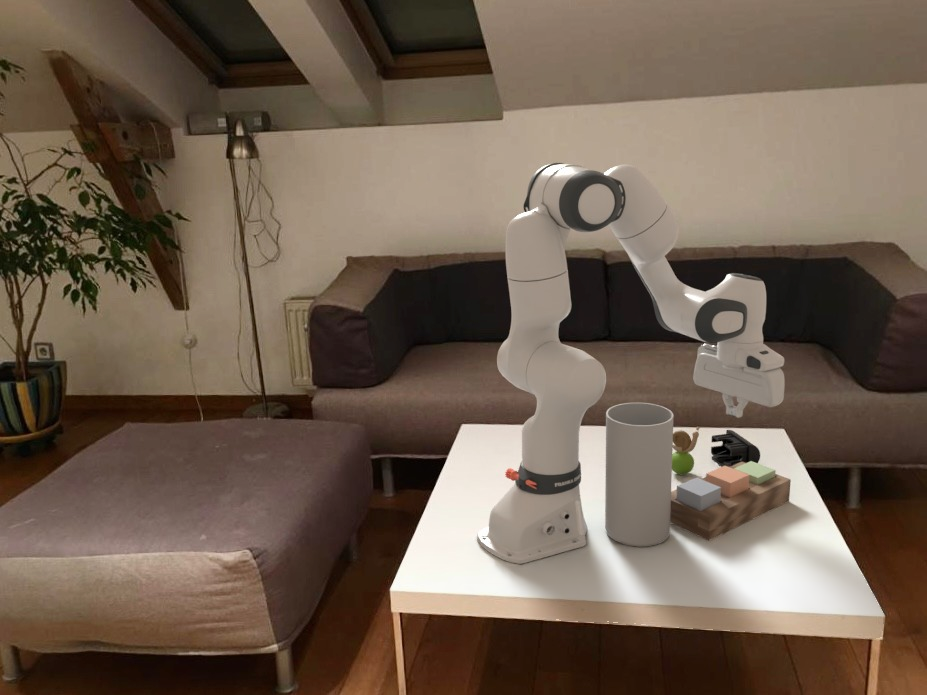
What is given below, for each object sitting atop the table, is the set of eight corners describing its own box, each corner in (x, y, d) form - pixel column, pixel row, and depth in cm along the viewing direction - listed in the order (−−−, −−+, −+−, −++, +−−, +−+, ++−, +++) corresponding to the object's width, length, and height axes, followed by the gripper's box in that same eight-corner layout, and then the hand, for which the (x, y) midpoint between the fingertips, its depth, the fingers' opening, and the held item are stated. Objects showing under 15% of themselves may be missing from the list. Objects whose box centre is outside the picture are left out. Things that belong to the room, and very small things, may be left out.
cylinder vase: (624, 511, 173) (625, 398, 166) (680, 528, 165) (684, 410, 158) (593, 536, 163) (593, 417, 156) (651, 555, 156) (654, 430, 149)
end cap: (759, 471, 189) (761, 443, 187) (731, 475, 188) (732, 447, 186) (736, 454, 198) (738, 428, 197) (709, 458, 197) (710, 431, 195)
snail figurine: (692, 481, 185) (694, 431, 182) (665, 475, 189) (666, 425, 186) (701, 472, 189) (703, 423, 186) (674, 466, 193) (676, 418, 190)
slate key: (700, 514, 162) (701, 496, 161) (676, 504, 166) (676, 485, 165) (720, 505, 165) (721, 487, 164) (695, 495, 170) (696, 477, 169)
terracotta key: (729, 501, 167) (730, 483, 166) (705, 491, 171) (706, 473, 170) (748, 492, 170) (749, 474, 169) (724, 483, 175) (724, 465, 174)
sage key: (756, 495, 172) (758, 477, 171) (732, 485, 177) (733, 468, 176) (774, 487, 175) (775, 469, 174) (750, 478, 180) (751, 461, 179)
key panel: (708, 540, 160) (709, 517, 159) (660, 518, 169) (661, 495, 168) (789, 501, 174) (790, 479, 173) (740, 482, 184) (742, 461, 182)
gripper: (689, 343, 177) (685, 405, 180) (772, 365, 161) (766, 432, 164) (708, 339, 180) (704, 399, 184) (791, 360, 164) (785, 425, 168)
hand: (734, 415), depth 174 cm, fingers closed
